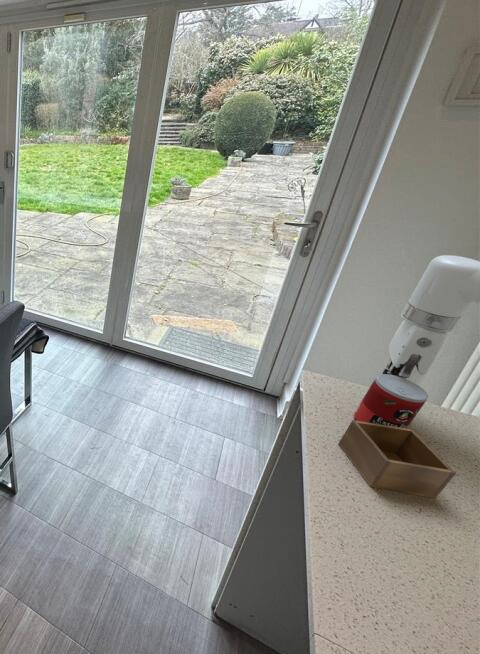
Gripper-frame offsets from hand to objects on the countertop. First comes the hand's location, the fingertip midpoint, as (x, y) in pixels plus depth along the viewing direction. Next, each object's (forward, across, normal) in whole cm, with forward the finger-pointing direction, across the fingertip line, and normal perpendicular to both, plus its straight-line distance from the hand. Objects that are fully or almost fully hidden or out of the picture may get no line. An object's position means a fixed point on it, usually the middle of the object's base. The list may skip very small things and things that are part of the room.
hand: (386, 387), depth 90 cm
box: (+5, -23, +1) cm, 23 cm away
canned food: (+5, -9, +1) cm, 10 cm away
